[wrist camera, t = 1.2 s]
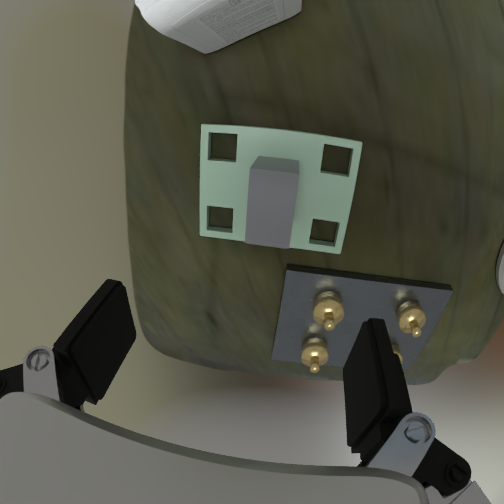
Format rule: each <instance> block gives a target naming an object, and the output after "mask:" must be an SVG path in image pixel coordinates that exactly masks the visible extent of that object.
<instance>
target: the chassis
mask: <svg viewBox="0 0 504 504" xmlns="http://www.w3.org/2000/svg"><path fill="white" fill-rule="evenodd" d="M452 293H453V289H452V288H451V286H450V285H446V284H438V283H430V282H422V281H414V280H406V279H398V278H391V277H383V276H375V275H367V274H360V273H352V272H344V271H337V270H329V269H322V268H314V267H307V266H299V265H292V264H287V268H286V275H285V281H284V287H283V293H282V299H281V305H280V311H279V317H278V323H277V328H276V334H275V339H274V345H273V350H272V357H271V359H272V360H280V361H288V362H296V363H304V364H305V365H307V366H310V371H311V372H313V373H316V372H318V371H319V366H321V365H326V366H338V367H344V365H345V363H346V361H347V358H348V356H349V354H350V352H351V349H352V347H353V345H354V342H355V340H356V338H357V335H358V333H359V331H360V328H361V326H362V323H363V322H364V321H367V320H368V319H369V318H378V319H384V321H385V323H386V327H387V330H388V334H389V337H390V341H391V345H392V348H393V352H394V353H397V354H398V355H399V358H400V361H401V365H402V369H410V368H411V366H412V365H413V363H414V362H415V360H416V358H417V357H418V355H419V354H420V352H421V350H422V349H423V347H424V345H425V344H426V342H427V340H428V338H429V337H430V335H431V333H432V331H433V330H434V328H435V326H436V324H437V322H438V321H439V319H440V317H441V315H442V313H443V311H444V309H445V307H446V305H447V303H448V301H449V299H450V297H451V295H452Z"/></svg>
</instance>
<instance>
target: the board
mask: <svg viewBox="0 0 504 504" xmlns="http://www.w3.org/2000/svg"><path fill="white" fill-rule="evenodd" d="M212 132H214V133H231V134H238V137H237V154H236V160H229V159H215V158H211V137H212ZM324 144H329V145H335V146H341V147H347V148H351V154H350V160H349V166H348V172H347V174H342V173H336V172H329V171H323V170H321V163H322V155H323V148H324ZM361 149H362V142H361V141H358V140H352V139H347V138H341V137H336V136H330V135H323V134H317V133H310V132H303V131H295V130H287V129H278V128H268V127H257V126H244V125H229V124H201V150H200V236H207V237H215V238H223V239H231V240H238V241H245V243H247V244H255V245H262V246H270V247H277V248H284V249H289V247H291V248H298V249H306V250H313V251H320V252H328V253H335V254H340V253H341V249H342V245H343V240H344V236H345V232H346V227H347V223H348V218H349V213H350V209H351V204H352V199H353V194H354V189H355V183H356V178H357V172H358V167H359V161H360V155H361ZM210 206H217V207H226V208H234V209H233V229H230V228H222V227H214V226H209V213H210ZM313 219H320V220H327V221H334V222H338V225H337V230H336V234H335V239H334V242H328V241H321V240H314V239H309V238H310V232H311V227H312V221H313Z"/></svg>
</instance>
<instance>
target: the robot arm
mask: <svg viewBox="0 0 504 504" xmlns="http://www.w3.org/2000/svg"><path fill="white" fill-rule="evenodd" d="M496 282H497V285H498V287H499V289H500V290H501V292H502V293H503V294H504V243H503V245H502V248H501V250H500V253H499V256H498V260H497V265H496ZM135 339H136V330H135V326H134V322H133V318H132V314H131V309H130V305H129V302H128V297H127V292H126V288H125V286H123V284H122V282H120V281H117V280H112V279H107V280H106V281H105V282H104V283H103V284H102V286H101V287H100V288H99V289H98V290H97V291H96V293H95V294H94V295H93V296H92V297H91V298H90V300H89V301H88V302H87V303H86V304H85V306H84V307H83V308H82V309H81V311H80V312H79V313H78V314H77V315H76V317H75V318H74V319H73V320H72V322H71V323H70V324H69V325H68V327H67V328H66V329H65V331H64V332H63V333H62V335H61V336H60V337H59V338H58V340H57V341H56V342H55V343H54V345H53V346H54V347H53V349H52V350H51V349H50V348H48V347H46V346H37V347H34V348H32V349H31V350H29V351H28V353H27V354H26V355H25V357H24V361H23V364H20V365H17V366H14V367H11V368H7V369H4V370H0V504H491V503H490V501H489V500H488V498H487V497H486V496H485V494H484V493H483V491H482V490H481V488H480V487H479V486H478V484H477V483H476V481H473V482H472V481H471V480H470V478H471V468H470V466H469V464H468V462H467V461H466V460H465V459H463V458H462V457H461V456H459V455H458V454H456V453H455V452H454V451H452V450H451V449H450V448H448V447H447V446H446V445H444V444H443V443H441V442H440V441H439V440H437V439H436V438H435V426H434V423H433V422H432V421H431V419H430V418H429V417H427V416H426V415H424V414H422V413H417V412H415V413H413V412H412V407H411V403H410V398H409V394H408V389H407V385H406V381H405V377H404V373H403V369H402V365H401V361H400V358H399V355H398V354H397V353H394V352H393V348H392V345H391V341H390V337H389V334H388V330H387V327H386V323H385V321H384V319H378V318H369V319H368V320H367V321H364V322H363V323H362V326H361V328H360V331H359V333H358V335H357V338H356V340H355V342H354V345H353V347H352V349H351V352H350V354H349V356H348V358H347V361H346V363H345V365H344V368H343V381H344V393H345V409H346V428H347V445H348V446H350V447H351V451H352V453H360V459H361V460H362V461H361V462H360V464H359V465H358V466H357V467H347V466H313V465H297V464H284V463H273V462H264V461H256V460H249V459H243V458H236V457H230V456H225V455H219V454H215V453H209V452H205V451H201V450H196V449H192V448H188V447H184V446H180V445H176V444H172V443H169V442H165V441H162V440H158V439H155V438H152V437H148V436H145V435H142V434H139V433H136V432H133V431H130V430H128V429H125V428H122V427H119V426H117V425H114V424H111V423H109V422H106V421H104V420H101V419H99V418H97V417H94V416H92V415H89V414H87V413H85V412H84V408H83V403H84V401H87V402H90V403H92V404H94V405H96V404H97V402H98V400H101V399H102V398H103V397H104V395H105V393H106V391H107V389H108V388H109V386H110V384H111V382H112V380H113V378H114V377H115V374H116V373H117V371H118V369H119V367H120V366H121V364H122V362H123V360H124V359H125V357H126V355H127V353H128V352H129V350H130V348H131V346H132V344H133V343H134V341H135Z"/></svg>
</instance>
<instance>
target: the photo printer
mask: <svg viewBox="0 0 504 504" xmlns="http://www.w3.org/2000/svg"><path fill="white" fill-rule="evenodd" d="M135 4H136V5H137V6H138V8H139V9H140V11H141V14H142V16H143V18H144V19H145V21H146V22H147V23H148V24H149V25H151V26H152V27H154V28H155V29H156V30H157V31H159V32H160V33H161V34H163V35H165V36H168V37H170V38H172V39H175V40H177V41H179V42H181V43H184V44H186V45H188V46H190V47H192V48H194V49H196V50H198V51H200V52H202V53H204V54H207V53H211V52H214V51H217V50H219V49H221V48H224V47H226V46H228V45H230V44H232V43H234V42H236V41H238V40H241V39H243V38H245V37H247V36H249V35H251V34H254V33H256V32H258V31H260V30H263V29H265V28H267V27H270V26H272V25H274V24H277V23H279V22H281V21H284V20H286V19H288V18H290V17H292V16H294V15H296V14H297V13H299V12H300V11H301V6H302V0H135Z"/></svg>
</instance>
